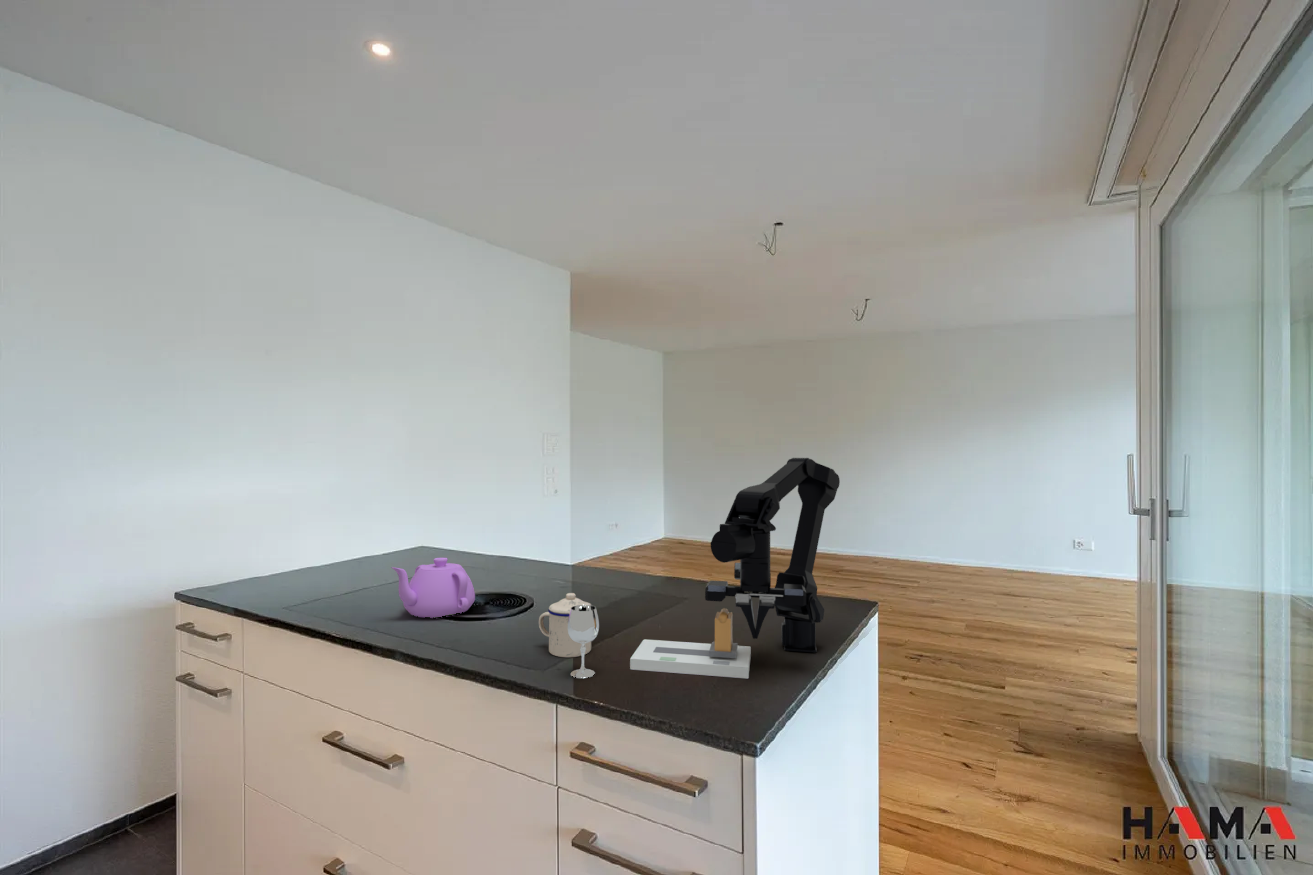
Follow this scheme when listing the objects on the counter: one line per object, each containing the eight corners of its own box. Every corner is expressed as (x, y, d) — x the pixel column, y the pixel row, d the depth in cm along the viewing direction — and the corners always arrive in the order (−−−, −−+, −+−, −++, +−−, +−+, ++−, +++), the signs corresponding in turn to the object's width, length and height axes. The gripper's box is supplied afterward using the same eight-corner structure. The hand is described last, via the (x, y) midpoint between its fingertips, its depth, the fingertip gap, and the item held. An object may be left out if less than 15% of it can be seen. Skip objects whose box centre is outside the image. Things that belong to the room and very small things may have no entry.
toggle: (737, 648, 115) (737, 608, 116) (735, 658, 109) (735, 616, 110) (712, 646, 116) (712, 606, 116) (709, 656, 110) (709, 614, 111)
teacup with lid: (599, 647, 123) (600, 591, 123) (578, 660, 115) (579, 600, 115) (550, 640, 127) (551, 586, 128) (526, 653, 119) (527, 595, 119)
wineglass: (568, 668, 110) (568, 604, 111) (598, 667, 111) (599, 603, 111) (565, 680, 105) (566, 612, 105) (598, 679, 105) (598, 611, 105)
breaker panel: (750, 656, 118) (750, 645, 118) (748, 678, 106) (748, 666, 106) (643, 648, 122) (643, 638, 122) (630, 669, 110) (630, 658, 110)
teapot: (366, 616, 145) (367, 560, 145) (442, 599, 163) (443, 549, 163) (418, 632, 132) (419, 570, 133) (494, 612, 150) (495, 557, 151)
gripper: (802, 551, 118) (803, 628, 118) (710, 547, 122) (710, 623, 122) (806, 560, 108) (806, 646, 107) (704, 556, 111) (704, 639, 111)
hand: (755, 638), depth 112 cm, fingers closed
